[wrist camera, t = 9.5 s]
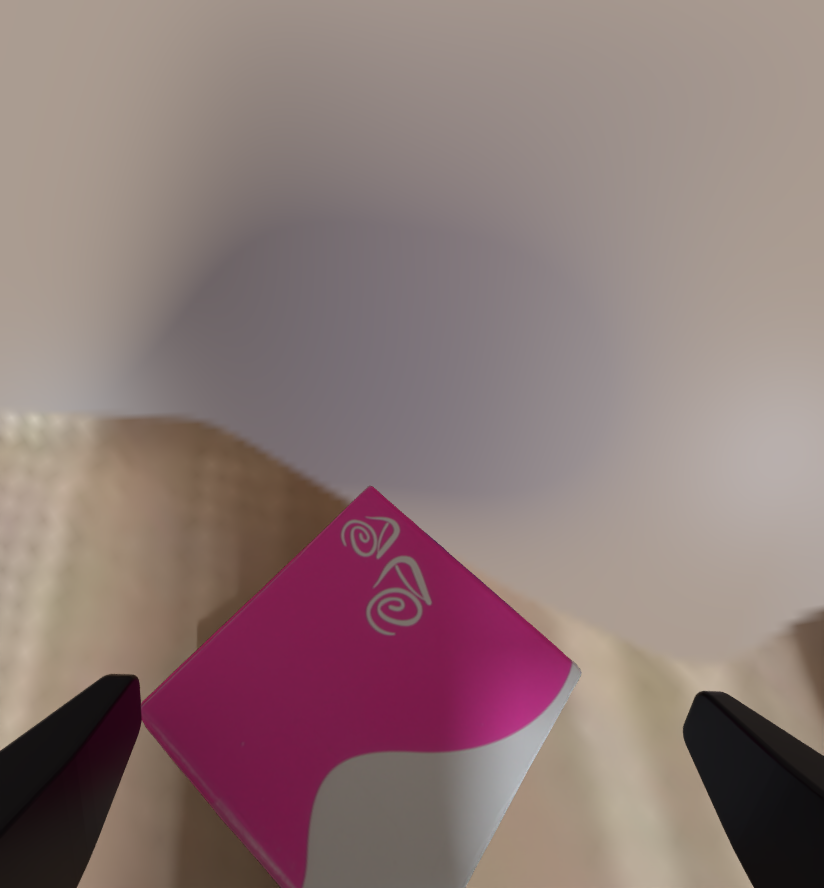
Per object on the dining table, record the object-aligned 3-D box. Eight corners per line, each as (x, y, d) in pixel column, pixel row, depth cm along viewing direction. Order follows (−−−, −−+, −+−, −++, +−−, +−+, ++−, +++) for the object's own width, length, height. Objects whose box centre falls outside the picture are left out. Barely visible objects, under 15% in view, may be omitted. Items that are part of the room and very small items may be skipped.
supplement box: (454, 677, 19) (600, 677, 8) (352, 821, 16) (385, 1068, 6) (350, 578, 20) (370, 474, 10) (239, 698, 17) (106, 729, 7)
